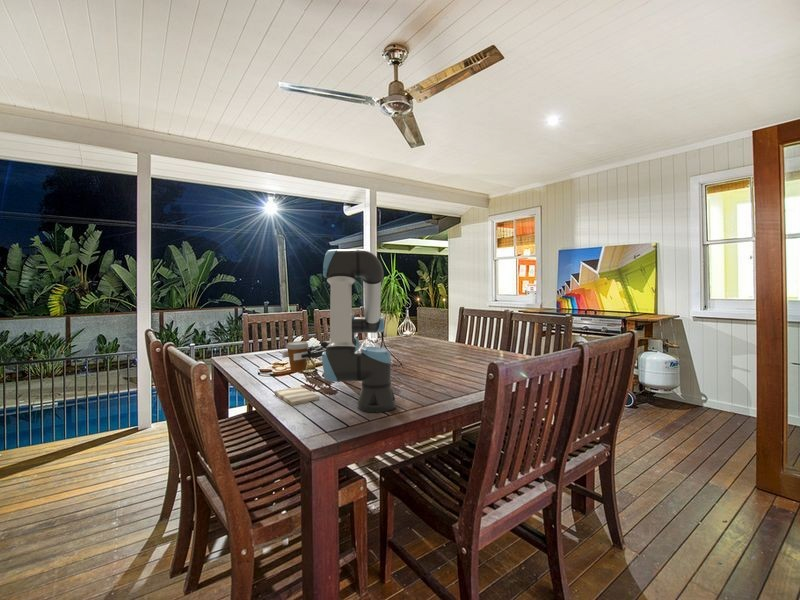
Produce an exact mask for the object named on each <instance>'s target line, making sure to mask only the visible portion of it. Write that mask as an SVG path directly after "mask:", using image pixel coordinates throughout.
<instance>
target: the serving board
mask: <svg viewBox="0 0 800 600" xmlns="http://www.w3.org/2000/svg"><path fill="white" fill-rule="evenodd" d="M274 395H275V396H276V395H277V397H278V398H280V400H283V401H284V402H285V403H287V404H289V405H290V406H295V405H300V404H305V403H309V401H310V402H313V400H314V401H318V400H317V399H319V400H320V395H318V394H317V393H314V392H312V391H310V390H309V389H306V388H305V387H303V386H302V385H299V386H295V387H288V388H284V389H278V390H274Z"/></svg>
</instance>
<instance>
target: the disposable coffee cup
mask: <svg viewBox="0 0 800 600" xmlns="http://www.w3.org/2000/svg"><path fill="white" fill-rule="evenodd" d="M308 347H310V345H309V343H308V341H302V340H301V341H300V340H298V341H289V342H287V344H286V347H285V348H286V349H287V351H288V355H289V357H288V362H289V367H290V371H291V372H296V373H297V372H298V373H299V372H304V371H306V370H307V369H306V368H307V361H308V360H307V359H308V358H306V359H300V360H295V361H294V354H296V353H302V352H307V351H308Z"/></svg>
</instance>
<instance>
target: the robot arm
mask: <svg viewBox="0 0 800 600" xmlns="http://www.w3.org/2000/svg"><path fill="white" fill-rule="evenodd" d="M322 265H323V266H322V275H323V278H326V282H327V283H328V284H329V286H330V301H329V303H330V304H329V305H330V306H329V307H330V308H329V312H330V313H329V315H330V316H329V318H330V319H329V320H330V322H329V323H330V327H329V329H330V330H329V332H330V333H329V340H324V341H322V342H321V343H320V345H315V346H313V345H309V346H308V351H307V352H302V353H296V354H294V361H295V360H300V359H306V358H307V359H317V358H321V357H322V358H321V361H322V369H323V375H324V378H325V380H326V381H327V382H334V383H335V382H337V383H339V382H341V383H342V382H344V383H345V382H361V389H360V391H359V392H360V393H359V395H358V399H357V408H358V409H359V410H360V411H362V412H367V413H384V412H388V411H392V410H393V409H395V408H396V406H397V405H396V397H395V394H394V392H393V388H392V367H391V366H392V360H391V359H392V357H391V352H390V351H389V350H388V349H386V348H383V347H378V346H362V347H361V348H360V341H359V339H358V337H356V336H355V334H360V333H361V334H362V333H363V334H367V333H368V334H369V333H370V334H371V333H373V334H375V333H376V334H377V333H383V332H384V331H385V318H384V317H383V316H381V297H382V293H381V292H382V282H383V281H384V277H385V276H384V275H385V274H384V268H383V265H382V263H381V261H380V260H379V258H378V257H377V256H376V255H375V254H374V253H373V252H371V251H369V250H367V249H363V248H361V249H352V248H351V249H350V248H349V249H348V248H347V249H343V248H342V249H339V248H336V249H328V250H327V251H326V252H325V255H324V259H323V264H322ZM356 278H361V280H362V282H363V296H364V297H363V301H364V302H363V303H364V304H363V305H364V306H363V307H364V310H363V311H364V312H363V313H364V317H355V314H353V313H352V312H353V311H352V310H353V309H352V306H353V305H352V304H353V301H352V298H353V297H352V296H353V295H352V290H353V289H352V285H353V284H354V283H355V282H356ZM359 349H360V350H359ZM281 356H282V359H284V358H289V355H288V350H282V351H281Z"/></svg>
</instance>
